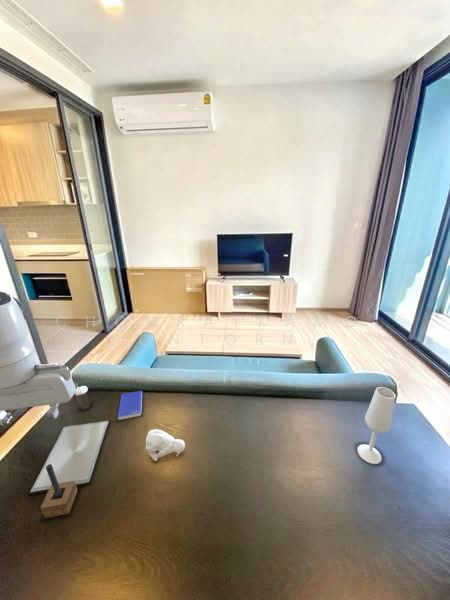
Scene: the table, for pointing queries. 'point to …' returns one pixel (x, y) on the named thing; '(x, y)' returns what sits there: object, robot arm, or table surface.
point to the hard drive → (130, 405)
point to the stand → (59, 500)
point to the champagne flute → (378, 422)
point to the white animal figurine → (162, 444)
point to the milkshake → (82, 397)
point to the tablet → (73, 455)
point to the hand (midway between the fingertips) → (31, 419)
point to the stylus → (54, 481)
